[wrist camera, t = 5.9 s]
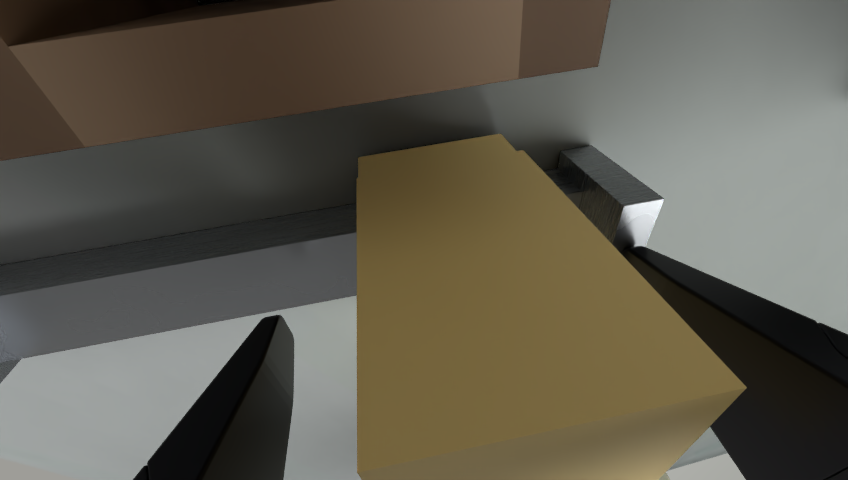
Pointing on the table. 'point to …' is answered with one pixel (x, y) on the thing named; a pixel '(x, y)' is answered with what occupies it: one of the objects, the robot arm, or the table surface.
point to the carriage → (512, 331)
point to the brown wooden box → (259, 59)
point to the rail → (247, 268)
